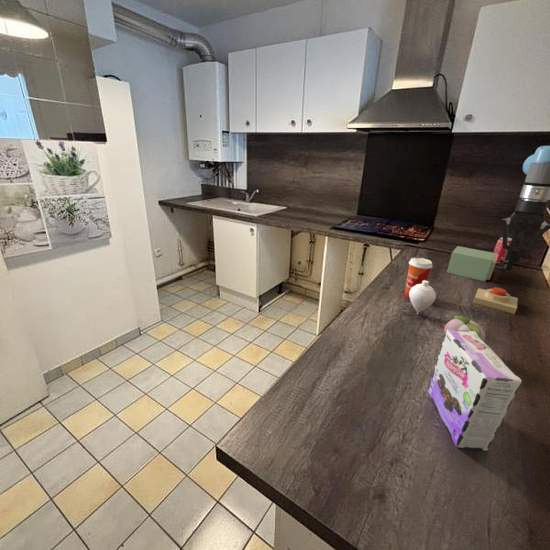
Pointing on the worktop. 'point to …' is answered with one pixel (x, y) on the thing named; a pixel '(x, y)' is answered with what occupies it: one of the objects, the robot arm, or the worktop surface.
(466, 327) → the decorative fruit
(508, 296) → the block
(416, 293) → the spinning top
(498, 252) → the soda can
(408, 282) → the paper cup
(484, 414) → the candy box
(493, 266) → the drawer
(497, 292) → the button
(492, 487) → the worktop surface
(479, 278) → the cabinet
